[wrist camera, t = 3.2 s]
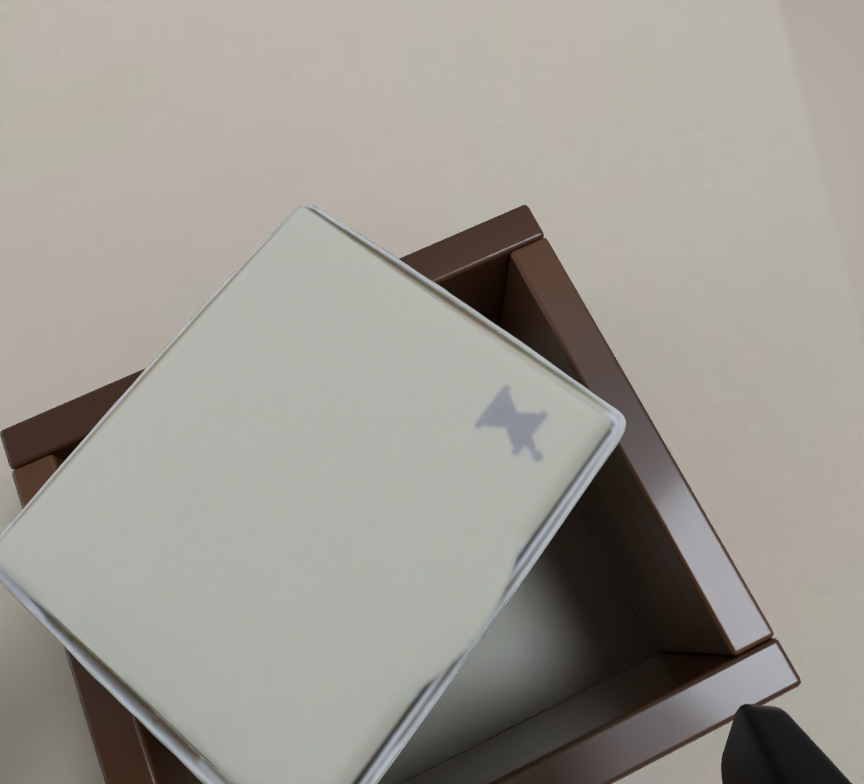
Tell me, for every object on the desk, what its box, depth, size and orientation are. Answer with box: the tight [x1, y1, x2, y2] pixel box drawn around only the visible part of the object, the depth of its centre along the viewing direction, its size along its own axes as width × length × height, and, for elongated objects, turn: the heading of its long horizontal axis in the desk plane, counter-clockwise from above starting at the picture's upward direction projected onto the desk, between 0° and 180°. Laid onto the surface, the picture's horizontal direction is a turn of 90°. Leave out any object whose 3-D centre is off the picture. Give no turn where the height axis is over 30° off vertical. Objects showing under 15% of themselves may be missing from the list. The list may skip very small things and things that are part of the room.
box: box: [0, 205, 626, 784], centre depth 13 cm, size 5×4×11 cm
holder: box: [0, 205, 801, 784], centre depth 16 cm, size 10×11×5 cm
